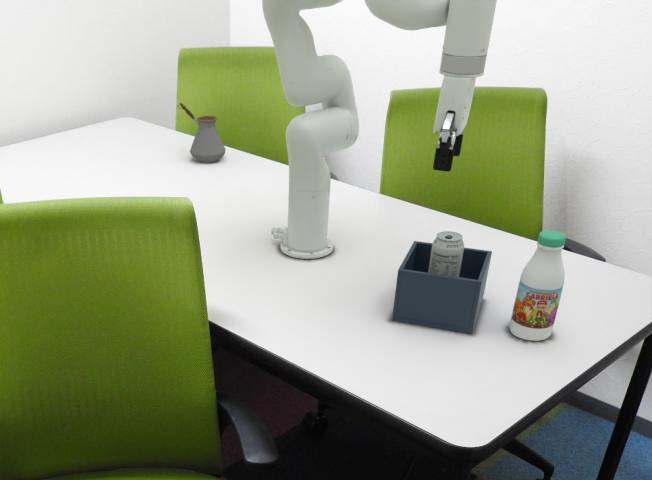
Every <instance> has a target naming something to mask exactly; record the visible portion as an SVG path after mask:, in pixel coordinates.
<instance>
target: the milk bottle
mask: <svg viewBox="0 0 652 480" xmlns="http://www.w3.org/2000/svg"><path fill="white" fill-rule="evenodd" d="M566 241H567V235H566V234H565V233H564V232H562V231H560V230H552V229H546V230H541V231H540V232H539V233H538V237H537V241H536V245H537V247H536V250H535V252H534V253H533V255H532V256H531V258H530V259H529V260H528V261H527V263H525V266H524V267H523V269H522V272H521V274H520V278H519V282H518V286H517V290H516V294H515V299H514V303H513V308H512V313H511V316H510V322H509V331H510V333H511V334H512V335H514V336H515V337H517V338H518V339H522V340H525V341H532V342H537V341H544V340H545V341H546V340H547V339H548V338H550V336H551V335H552V332H553V329H554V325H555V321H556V317H557V313H558V309H559V305H560V301H561V297H562V293H563V289H564V284H565V274H566V273H565V267H564V264H563V263H564V262H563V258H562V250H563V249H564V248H565V244H566Z"/></svg>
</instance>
